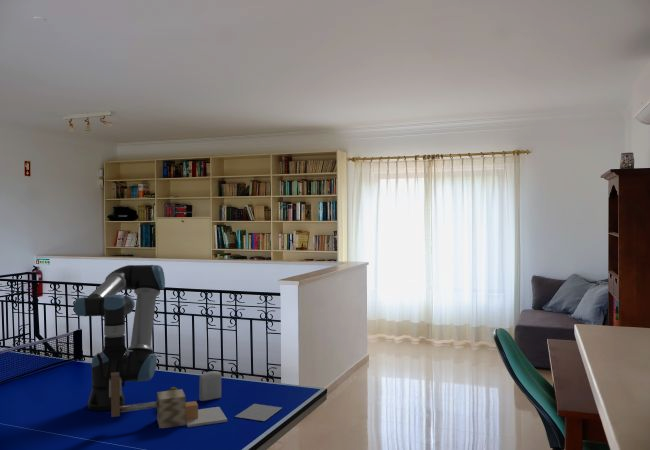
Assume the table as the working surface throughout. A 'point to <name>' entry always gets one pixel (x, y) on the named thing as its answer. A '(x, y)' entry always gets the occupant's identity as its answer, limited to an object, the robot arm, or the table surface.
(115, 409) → the handled brown block
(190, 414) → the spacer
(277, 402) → the table surface
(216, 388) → the photo printer
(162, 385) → the table surface
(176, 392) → the bearing block
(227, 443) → the table surface
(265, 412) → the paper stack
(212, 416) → the mat
